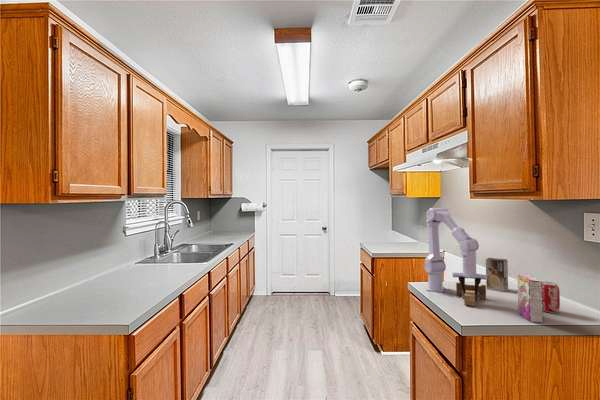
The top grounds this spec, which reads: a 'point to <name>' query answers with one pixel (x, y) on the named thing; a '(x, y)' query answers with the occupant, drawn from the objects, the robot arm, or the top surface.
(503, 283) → the coffee box
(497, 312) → the top surface
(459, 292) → the wooden base
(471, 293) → the tan wooden bar
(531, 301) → the candy bar box
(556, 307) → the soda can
